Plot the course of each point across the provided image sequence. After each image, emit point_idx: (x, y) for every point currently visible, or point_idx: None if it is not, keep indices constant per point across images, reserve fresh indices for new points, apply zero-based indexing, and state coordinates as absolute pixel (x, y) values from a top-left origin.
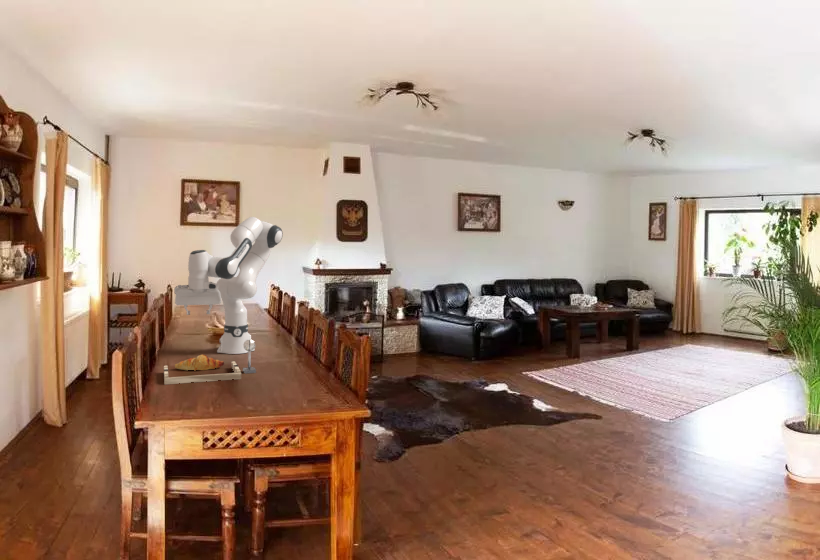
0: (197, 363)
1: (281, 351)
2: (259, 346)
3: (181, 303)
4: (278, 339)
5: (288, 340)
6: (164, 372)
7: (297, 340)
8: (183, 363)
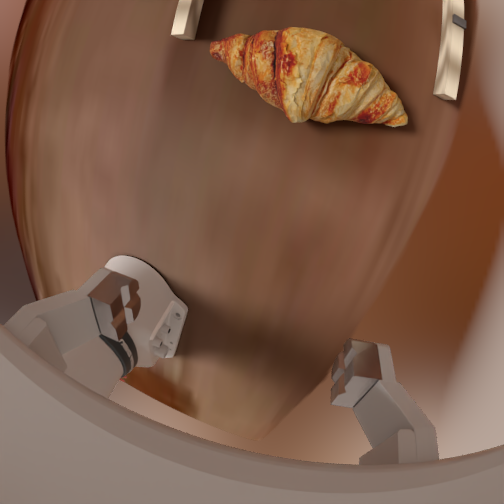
0: (332, 36)
1: (47, 231)
2: None
3: (492, 468)
4: None
5: None
6: (463, 4)
7: None
8: (384, 84)
